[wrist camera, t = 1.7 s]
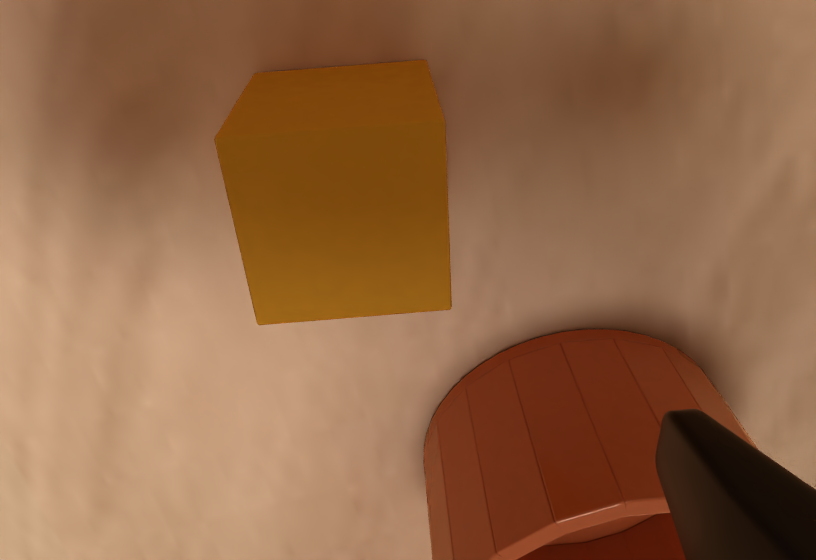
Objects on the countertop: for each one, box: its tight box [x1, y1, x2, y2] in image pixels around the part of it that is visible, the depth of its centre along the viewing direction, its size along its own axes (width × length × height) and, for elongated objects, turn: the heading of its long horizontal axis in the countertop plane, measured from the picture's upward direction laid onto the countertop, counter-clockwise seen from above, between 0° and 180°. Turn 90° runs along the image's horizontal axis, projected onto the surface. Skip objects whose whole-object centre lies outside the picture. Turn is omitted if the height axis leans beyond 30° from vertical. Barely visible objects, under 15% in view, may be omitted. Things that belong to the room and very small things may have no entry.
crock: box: [424, 329, 757, 560], centre depth 22 cm, size 11×11×7 cm
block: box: [215, 60, 452, 325], centre depth 16 cm, size 4×4×5 cm
